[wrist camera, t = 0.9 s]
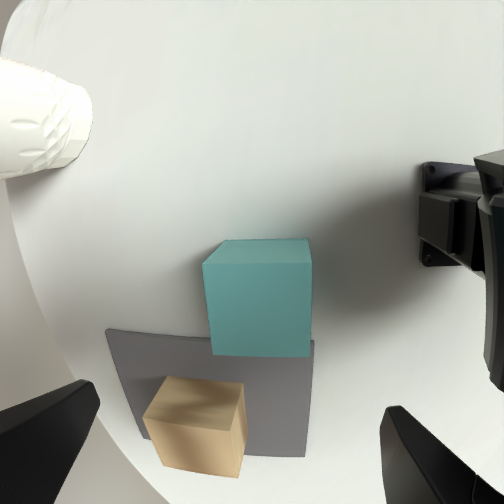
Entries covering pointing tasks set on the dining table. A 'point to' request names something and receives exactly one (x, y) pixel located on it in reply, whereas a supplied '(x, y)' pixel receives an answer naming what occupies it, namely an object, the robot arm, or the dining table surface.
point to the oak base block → (199, 425)
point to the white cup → (39, 120)
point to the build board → (221, 369)
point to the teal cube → (259, 297)
